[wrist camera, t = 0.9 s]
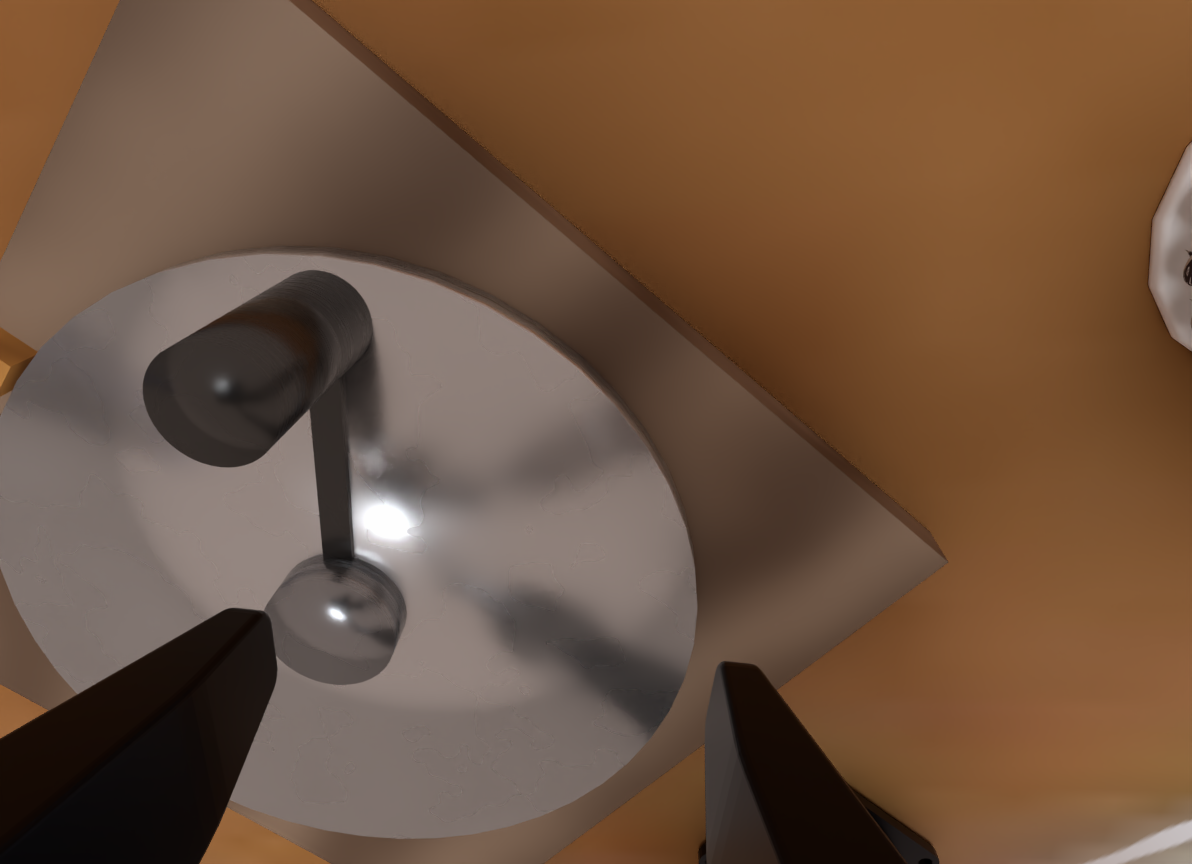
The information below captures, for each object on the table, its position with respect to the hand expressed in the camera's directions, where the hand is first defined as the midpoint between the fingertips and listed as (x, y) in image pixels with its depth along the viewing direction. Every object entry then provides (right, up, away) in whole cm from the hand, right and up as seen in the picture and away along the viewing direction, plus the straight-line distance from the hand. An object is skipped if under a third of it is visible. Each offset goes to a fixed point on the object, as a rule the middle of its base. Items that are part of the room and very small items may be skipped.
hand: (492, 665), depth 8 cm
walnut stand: (-6, -1, +16) cm, 17 cm away
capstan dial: (-6, -2, +14) cm, 15 cm away
